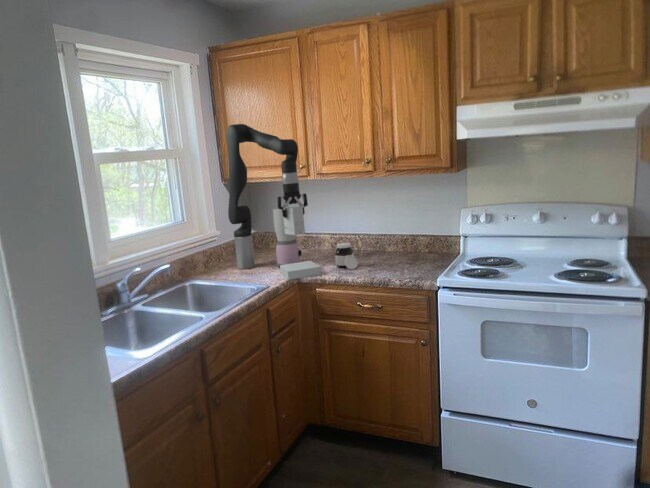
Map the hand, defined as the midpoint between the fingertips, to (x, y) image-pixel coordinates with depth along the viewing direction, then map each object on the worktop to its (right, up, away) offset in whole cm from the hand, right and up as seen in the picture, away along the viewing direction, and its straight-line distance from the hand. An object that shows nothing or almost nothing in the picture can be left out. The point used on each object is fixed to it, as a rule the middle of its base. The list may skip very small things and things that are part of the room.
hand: (293, 216), depth 233 cm
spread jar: (+26, -25, +11) cm, 38 cm away
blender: (-2, -25, +24) cm, 35 cm away
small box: (0, -8, +2) cm, 9 cm away
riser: (+3, -28, +5) cm, 28 cm away
